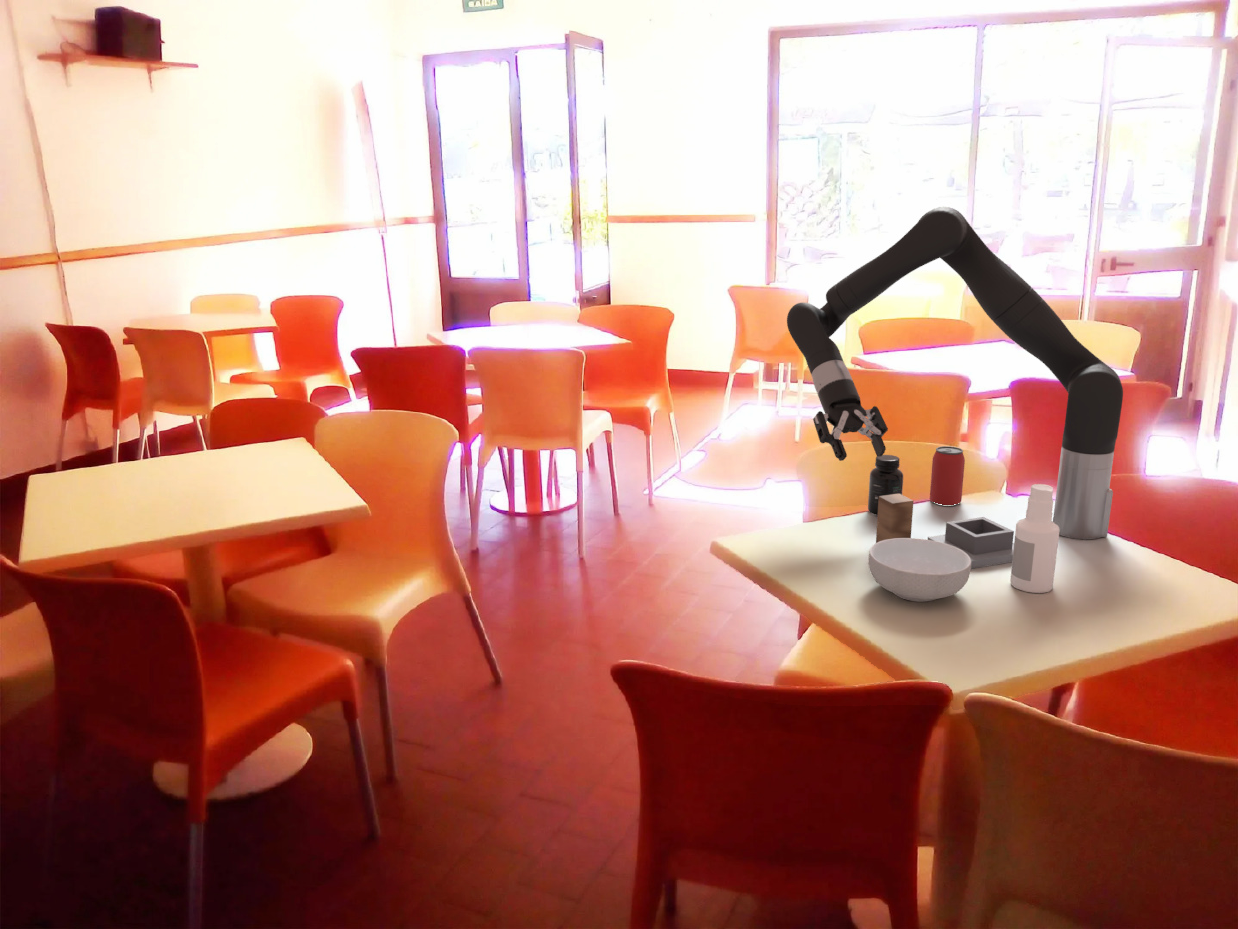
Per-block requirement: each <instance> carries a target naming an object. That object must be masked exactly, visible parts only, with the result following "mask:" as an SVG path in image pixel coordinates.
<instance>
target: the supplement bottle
mask: <svg viewBox="0 0 1238 929" xmlns="http://www.w3.org/2000/svg"><path fill="white" fill-rule="evenodd" d="M874 465H875V467H874V468H872V470H871V471H870V473H869V481H868V501H867V509H868V512H869V513H871V514H872V515H874V516H878V499H879V496H884V495H892V494H901V495H903V487H904V474H903V471H902V470H901V469H899V468H900V466H901V465H900V457H898V456H897V455H892V454H883V455H882V456H879V457H877V456H876V457H875V463H874Z"/></svg>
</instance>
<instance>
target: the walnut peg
mask: <svg viewBox="0 0 1238 929" xmlns="http://www.w3.org/2000/svg"><path fill="white" fill-rule="evenodd" d="M913 512H914V499H911V498H909V497H907V496H905V495H903V494H902V495H901V494H892V495H884V496H879V499H878V515H876V516H877V518H876V519H877V520H876V522H877V523H876V532H875V533H876V536H875V543H877V542H880V541H883V540H888V539H895V538H912V530H913V529H912V527H913V515H914V514H913Z"/></svg>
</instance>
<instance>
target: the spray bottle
mask: <svg viewBox="0 0 1238 929" xmlns="http://www.w3.org/2000/svg"><path fill="white" fill-rule="evenodd" d="M1053 494H1054V487H1053V486H1051V485H1049V484H1044V483H1036V484H1032V485H1031V486H1030V494H1029V497H1027V498H1028V499H1027V508H1026V510H1025V511H1026V512H1025V518H1023V519H1020V520H1018V521H1017V522H1016V524H1015V531H1014V532H1015V533H1014V540H1013V543H1014V550H1013V560H1012V562H1011V571H1010V581H1009V582H1010V584H1011V586H1012V587H1013V588H1015V589H1017V590H1019V591H1022V592H1026V593H1031V594H1032V593H1033V594H1043V593H1048V592H1050V591H1051V590H1052V589H1053V588H1054V580H1055V571H1056V564H1057V554H1058V548H1059V539H1060V538H1059V537H1060V534H1059V531H1060V530H1059V526H1058V525H1056V524H1055V523H1054V522H1053V509H1054V508H1053V507H1054V506H1053V505H1054V499H1053Z"/></svg>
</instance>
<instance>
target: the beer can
mask: <svg viewBox="0 0 1238 929" xmlns="http://www.w3.org/2000/svg"><path fill="white" fill-rule="evenodd" d="M931 462H932V463H931V473H930V474H931V475H930V476H931V477H930V485H929V486H930V487H929V488H930V489H929V500H930V502H931V503H932V502H935V503H938V504H942V505H954V504H958V503H962V500H963V499H962V498H963V488H964V487H963V486H964V478H965V476H964V474H965V464H966V463H965V462H966V460H965V455H964V450H963V449H962V448H960V447H956V446H948V445H946V446H943V445H942V446H938V447H936V448H935V453H934V454H933V456H932V460H931ZM958 505H959V504H958Z"/></svg>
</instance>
